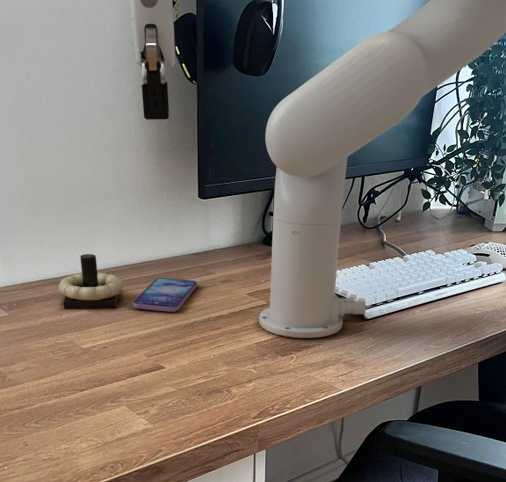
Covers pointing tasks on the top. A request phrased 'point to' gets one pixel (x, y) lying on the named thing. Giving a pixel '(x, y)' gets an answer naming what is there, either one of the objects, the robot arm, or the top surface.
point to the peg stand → (89, 281)
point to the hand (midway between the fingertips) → (157, 116)
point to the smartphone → (165, 294)
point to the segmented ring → (107, 290)
